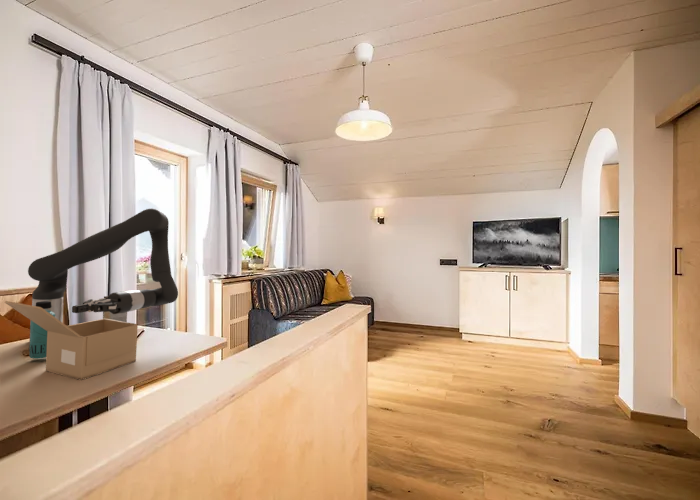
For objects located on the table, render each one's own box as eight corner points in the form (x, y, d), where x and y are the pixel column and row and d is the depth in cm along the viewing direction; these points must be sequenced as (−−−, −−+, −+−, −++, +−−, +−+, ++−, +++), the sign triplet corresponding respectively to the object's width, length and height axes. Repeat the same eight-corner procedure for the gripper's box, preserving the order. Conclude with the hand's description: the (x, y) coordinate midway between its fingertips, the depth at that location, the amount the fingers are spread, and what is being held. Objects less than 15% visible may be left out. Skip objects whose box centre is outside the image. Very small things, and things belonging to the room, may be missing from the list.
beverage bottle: (53, 355, 120) (55, 299, 119) (54, 360, 115) (57, 302, 115) (27, 359, 115) (30, 300, 115) (28, 364, 111) (30, 304, 110)
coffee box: (101, 332, 149) (102, 296, 149) (117, 329, 155) (119, 294, 154) (110, 336, 145) (112, 299, 144) (127, 333, 150) (128, 297, 150)
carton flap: (47, 329, 106) (46, 330, 106) (5, 300, 96) (4, 302, 96) (81, 336, 102) (80, 337, 101) (41, 307, 91) (39, 308, 91)
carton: (44, 370, 107) (46, 329, 107) (103, 353, 125) (104, 318, 124) (81, 380, 102) (83, 337, 102) (137, 361, 119) (139, 324, 119)
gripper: (113, 289, 125) (59, 295, 108) (140, 293, 120) (88, 300, 104) (112, 309, 125) (59, 318, 108) (139, 314, 121) (87, 324, 104)
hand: (73, 309), depth 106 cm, fingers closed
